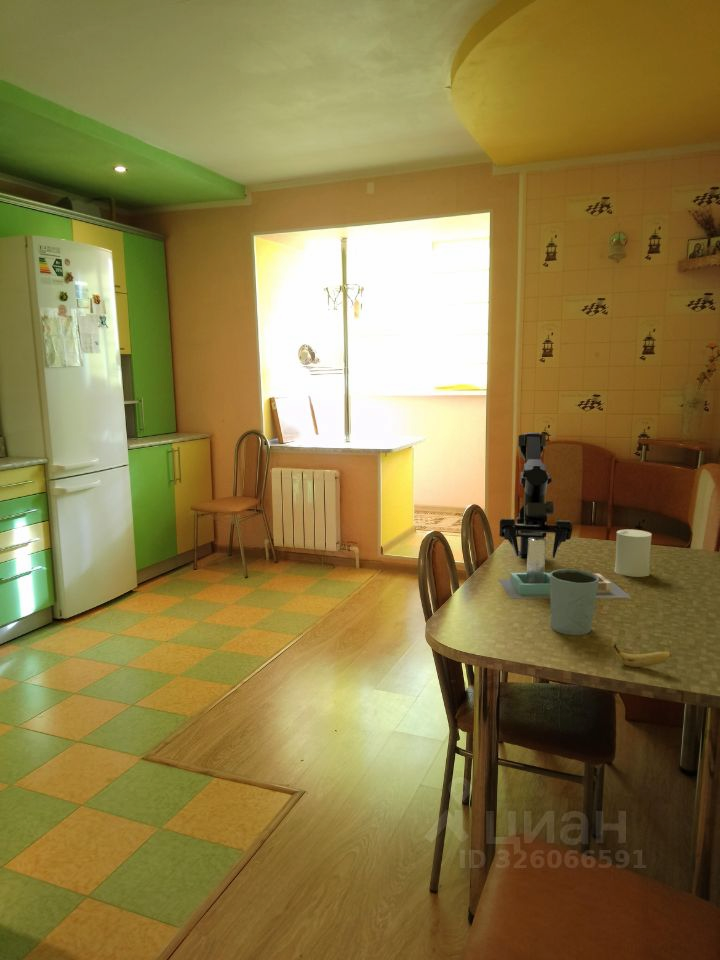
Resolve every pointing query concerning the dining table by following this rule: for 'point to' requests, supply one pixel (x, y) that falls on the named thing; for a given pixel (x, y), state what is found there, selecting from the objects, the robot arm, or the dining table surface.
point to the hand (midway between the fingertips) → (535, 556)
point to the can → (633, 553)
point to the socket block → (603, 584)
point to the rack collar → (530, 584)
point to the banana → (642, 658)
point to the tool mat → (513, 593)
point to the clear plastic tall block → (536, 560)
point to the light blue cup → (572, 601)
